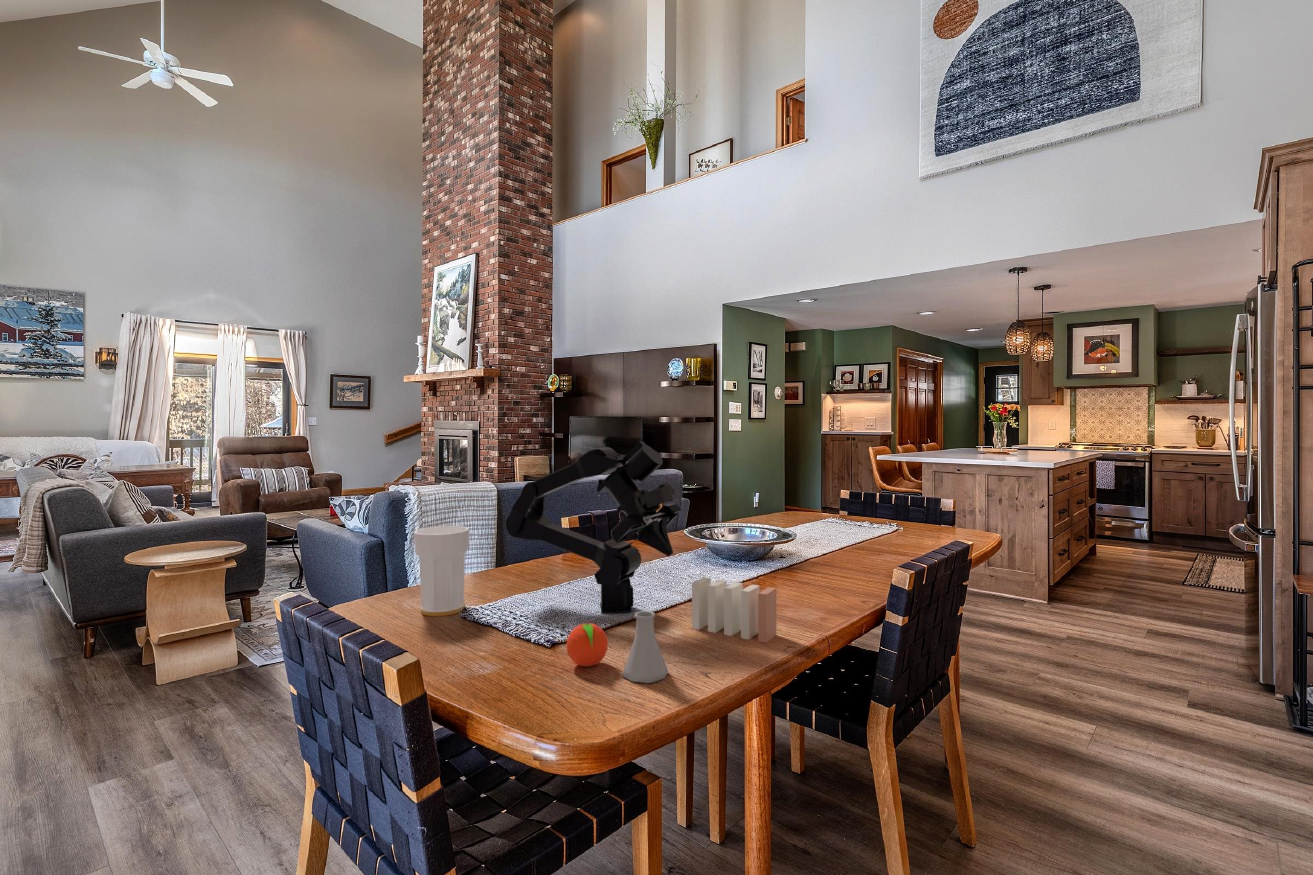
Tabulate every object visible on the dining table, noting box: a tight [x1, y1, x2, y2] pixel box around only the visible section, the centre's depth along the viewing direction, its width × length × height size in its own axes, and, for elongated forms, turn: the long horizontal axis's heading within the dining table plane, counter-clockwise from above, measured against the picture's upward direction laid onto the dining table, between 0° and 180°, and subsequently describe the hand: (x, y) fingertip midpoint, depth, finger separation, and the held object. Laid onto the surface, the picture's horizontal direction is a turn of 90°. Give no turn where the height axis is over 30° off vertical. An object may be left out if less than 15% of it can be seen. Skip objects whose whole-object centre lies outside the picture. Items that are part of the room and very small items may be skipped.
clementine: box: [566, 622, 609, 667], centre depth 106 cm, size 8×7×7 cm
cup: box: [413, 525, 470, 617], centre depth 138 cm, size 11×11×17 cm
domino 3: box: [723, 581, 744, 637], centre depth 123 cm, size 2×5×9 cm, turn 148°
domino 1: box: [691, 577, 712, 631], centre depth 127 cm, size 2×5×9 cm, turn 148°
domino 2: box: [707, 579, 728, 634], centre depth 125 cm, size 2×5×9 cm, turn 148°
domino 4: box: [740, 584, 760, 640], centre depth 121 cm, size 2×5×9 cm, turn 148°
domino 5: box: [757, 586, 777, 644], centre depth 119 cm, size 2×5×9 cm, turn 148°
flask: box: [621, 610, 669, 684], centre depth 103 cm, size 7×7×10 cm
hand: (671, 554), depth 131 cm, fingers closed
